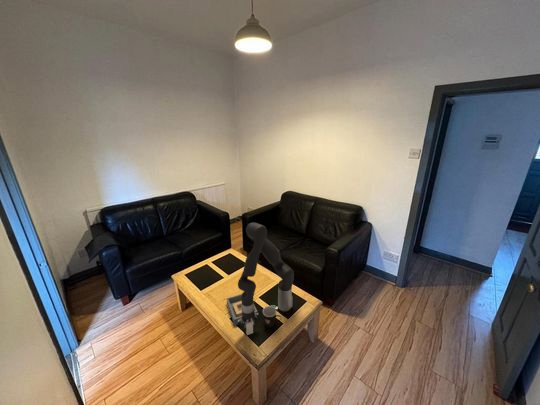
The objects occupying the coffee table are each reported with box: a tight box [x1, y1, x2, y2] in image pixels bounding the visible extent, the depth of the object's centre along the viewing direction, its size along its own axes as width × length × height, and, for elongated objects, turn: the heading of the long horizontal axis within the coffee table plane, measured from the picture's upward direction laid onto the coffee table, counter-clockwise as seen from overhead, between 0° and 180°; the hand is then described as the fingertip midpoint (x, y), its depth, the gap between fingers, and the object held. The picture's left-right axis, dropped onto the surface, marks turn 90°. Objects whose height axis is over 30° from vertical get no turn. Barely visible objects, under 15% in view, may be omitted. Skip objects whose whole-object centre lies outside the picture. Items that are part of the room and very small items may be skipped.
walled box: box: [226, 293, 258, 326], centre depth 152 cm, size 16×20×5 cm
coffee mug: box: [262, 305, 282, 328], centre depth 140 cm, size 12×9×10 cm
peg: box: [245, 321, 254, 336], centre depth 135 cm, size 4×4×9 cm
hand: (248, 329), depth 136 cm, fingers closed on peg, 4 cm apart
